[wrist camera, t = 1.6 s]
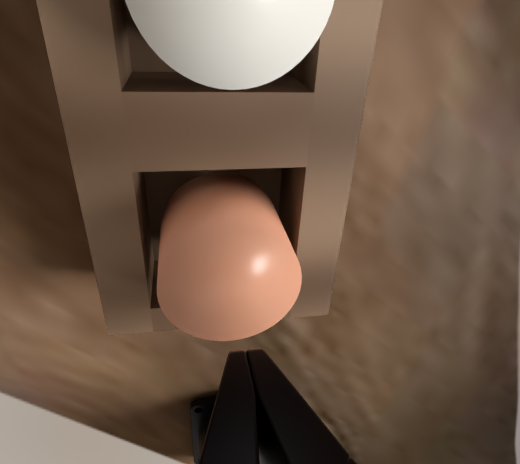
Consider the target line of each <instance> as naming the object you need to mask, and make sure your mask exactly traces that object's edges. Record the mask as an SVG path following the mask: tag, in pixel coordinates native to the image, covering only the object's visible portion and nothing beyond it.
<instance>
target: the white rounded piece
mask: <svg viewBox="0 0 520 464" xmlns="http://www.w3.org/2000/svg"><path fill="white" fill-rule="evenodd" d="M125 1H126V4H127V7H128V9H129V12H130V14H131V16H132V19H133V21H134V22H135V24H136V26H137V28H138V30H139V32H140V33H141V35H142V36H143V38H144V39H145V40H146V42H147V43H148V45H149V46H150V47H151V48H152V50H153V51H154V52H155V53H156V54H157V55H158V56H159V57H160V58H161V59H162V60H163V61H164V62H165V63H166V64H168V65H169V66H170V67H171V68H172V69H174V70H175V71H177V72H178V73H180V74H181V75H183V76H185V77H186V78H188V79H190V80H192V81H194V82H197V83H200V84H202V85H205V86H208V87H213V88H218V89H227V90H240V89H248V88H253V87H258V86H261V85H264V84H267V83H269V82H271V81H273V80H275V79H277V78H279V77H281V76H283V75H284V74H286V73H287V72H288V71H290V70H291V69H293V68H294V67H295V66H296V65H297V64H298V63H299V62H300V61H302V59H303V58H304V57H305V56H306V55H307V54H308V53H309V52H310V50H311V49H312V48H313V46H314V45H315V43H316V42H317V40H318V39H319V37H320V35H321V33H322V32H323V30H324V28H325V26H326V24H327V21H328V19H329V16H330V14H331V11H332V8H333V4H334V1H335V0H125Z"/></svg>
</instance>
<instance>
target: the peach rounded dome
mask: <svg viewBox="0 0 520 464" xmlns="http://www.w3.org/2000/svg"><path fill="white" fill-rule="evenodd" d="M301 283H302V273H301V267H300V264H299V261H298V258H297V256H296V254H295V252H294V250H293V247H292V245H291V243H290V241H289V239H288V236H287V234H286V232H285V230H284V227H283V225H282V223H281V221H280V219H279V216H278V214H277V212H276V210H275V207H274V205H273V203H272V201H271V199H270V197H269V196H268V194H267V193H266V192H265V191H264V190H263V188H262V187H260V186H259V185H258V184H257V183H255V182H254V181H252V180H250V179H248V178H246V177H244V176H241V175H237V174H232V173H221V172H219V173H210V174H205V175H201V176H199V177H196V178H194V179H192V180H190V181H188V182H186V183H185V184H183V185H182V186H181V187H179V188H178V189H177V190H176V191H175V192H174V193H173V194H172V196H171V197H170V198H169V200H168V201H167V203H166V205H165V207H164V210H163V213H162V218H161V228H160V244H159V260H158V275H157V298H158V302H159V305H160V307H161V310H162V311H163V313H164V315H165V316H166V317H167V319H168V320H169V321H170V322H171V323H172V324H173V325H174V326H175V327H177V328H178V329H180V330H181V331H183V332H185V333H187V334H189V335H191V336H194V337H197V338H201V339H205V340H212V341H232V340H239V339H243V338H247V337H250V336H253V335H256V334H258V333H261V332H263V331H265V330H267V329H268V328H270V327H272V326H273V325H274V324H276V323H277V322H279V321H280V320H281V319H282V318H283V317H284V316H285V315H286V314H287V313H288V312H289V311H290V309H291V308H292V306H293V305H294V303H295V301H296V299H297V297H298V295H299V292H300V288H301Z"/></svg>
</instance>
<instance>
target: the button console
mask: <svg viewBox="0 0 520 464" xmlns="http://www.w3.org/2000/svg"><path fill="white" fill-rule="evenodd" d="M36 3H37V7H38V12H39V16H40V21H41V26H42V30H43V35H44V40H45V44H46V49H47V53H48V58H49V63H50V67H51V72H52V77H53V81H54V86H55V91H56V95H57V100H58V104H59V109H60V114H61V118H62V123H63V128H64V132H65V137H66V141H67V146H68V151H69V155H70V160H71V165H72V169H73V174H74V178H75V183H76V188H77V192H78V197H79V202H80V206H81V211H82V215H83V220H84V225H85V229H86V234H87V239H88V243H89V248H90V252H91V257H92V262H93V266H94V271H95V276H96V280H97V285H98V289H99V294H100V299H101V303H102V308H103V313H104V317H105V322H106V326H107V331H108V336H113V335H124V334H134V333H144V332H154V331H165V330H175V329H178V328H177V327H175V326H174V325H173V324H172V323H171V322H170V321H169V320H168V319H167V317H166V316H165V315H164V313H163V311H162V310H161V307H160V305H159V302H158V298H157V275H158V260H159V244H160V228H161V218H162V213H163V210H164V207H165V205H166V203H167V201H168V200H169V198H170V197H171V196H172V194H173V193H174V192H175V191H176V190H177V189H178V188H179V187H181V186H182V185H183V184H185V183H186V182H188V181H190V180H192V179H194V178H196V177H199V176H201V175H205V174H210V173H219V172H221V173H232V174H237V175H241V176H244V177H246V178H248V179H250V180H252V181H254V182H255V183H257V184H258V185H259V186H260V187H262V188H263V190H264V191H265V192H266V193H267V194H268V196H269V197H270V199H271V201H272V203H273V205H274V207H275V210H276V212H277V214H278V216H279V219H280V221H281V223H282V225H283V227H284V230H285V232H286V234H287V236H288V239H289V241H290V243H291V245H292V247H293V250H294V252H295V254H296V256H297V258H298V261H299V264H300V267H301V273H302V283H301V288H300V292H299V295H298V297H297V299H296V301H295V303H294V305H293V306H292V308H291V309H290V311H289V312H288V313H287V314H286V315H285V316H284V317H283V318H282V319H287V318H298V317H308V316H318V315H328V312H329V307H330V301H331V295H332V290H333V284H334V278H335V272H336V267H337V261H338V255H339V249H340V244H341V238H342V232H343V227H344V221H345V215H346V209H347V204H348V198H349V192H350V187H351V181H352V175H353V169H354V164H355V158H356V152H357V146H358V141H359V135H360V129H361V124H362V118H363V112H364V106H365V101H366V95H367V89H368V84H369V78H370V72H371V66H372V61H373V55H374V49H375V44H376V38H377V32H378V26H379V21H380V15H381V9H382V3H383V0H335V1H334V4H333V8H332V11H331V14H330V16H329V19H328V21H327V24H326V26H325V28H324V30H323V32H322V33H321V35H320V37H319V39H318V40H317V42H316V43H315V45H314V46H313V48H312V49H311V50H310V52H309V53H308V54H307V55H306V56H305V57H304V58H303V59H302V61H300V62H299V63H298V64H297V65H296V66H295V67H294V68H293V69H291V70H290V71H288V72H287V73H286V74H284V75H283V76H281V77H279V78H277V79H275V80H273V81H271V82H269V83H267V84H264V85H261V86H258V87H253V88H248V89H240V90H227V89H218V88H213V87H208V86H205V85H202V84H200V83H197V82H194V81H192V80H190V79H188V78H186V77H185V76H183V75H181V74H180V73H178V72H177V71H175V70H174V69H172V68H171V67H170V66H169V65H168V64H166V63H165V62H164V61H163V60H162V59H161V58H160V57H159V56H158V55H157V54H156V53H155V52H154V51H153V50H152V48H151V47H150V46H149V45H148V43H147V42H146V40H145V39H144V38H143V36H142V35H141V33H140V32H139V30H138V28H137V26H136V24H135V22H134V21H133V19H132V16H131V14H130V12H129V9H128V7H127V4H126V1H125V0H36Z"/></svg>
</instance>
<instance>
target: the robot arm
mask: <svg viewBox="0 0 520 464" xmlns="http://www.w3.org/2000/svg"><path fill="white" fill-rule="evenodd" d="M190 416H191V428H192V441H193V454H194V463H195V464H356V462H355V461H354V460H353V459H352V458H350V455H349V454H348V453H347V451H346V450H345V449H344V448H343V447H342V445H341V444H340V443H339V442H338V440H337V439H336V438H335V437H334V435H333V434H332V433H331V432H330V431H329V429H328V428H327V427H326V426H325V424H324V423H323V422H322V421H321V419H320V418H319V417H318V416H317V415H316V413H315V412H314V411H313V410H312V408H311V407H310V406H309V405H308V403H307V402H306V401H305V400H304V399H303V397H302V396H301V395H300V394H299V392H298V391H297V390H296V389H295V387H294V386H293V385H292V384H291V383H290V381H289V380H288V379H287V378H286V376H285V375H284V374H283V373H282V371H281V370H280V369H279V368H278V367H277V365H276V364H275V363H274V362H273V360H272V359H271V358H270V357H269V355H268V354H267V353H266V352H265V351H264V350H263V349H262V348H254V349H248V350H247V351H245V350H236V351H230V352H229V354H228V357H227V361H226V364H225V368H224V372H223V375H222V379H221V383H220V386H219V390H218V394H217V397H213V398H205V399H198V400H194V401H193V402H191V404H190ZM349 458H350V459H349Z"/></svg>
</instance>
